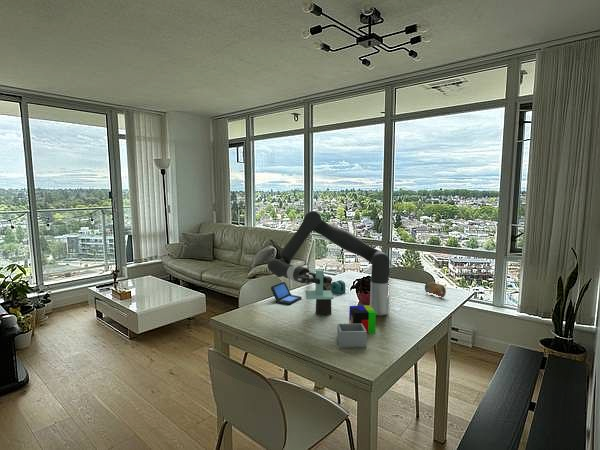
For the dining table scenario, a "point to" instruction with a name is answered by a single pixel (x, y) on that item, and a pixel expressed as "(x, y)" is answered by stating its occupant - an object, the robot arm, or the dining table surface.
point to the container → (324, 300)
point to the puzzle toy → (363, 317)
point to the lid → (319, 289)
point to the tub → (351, 335)
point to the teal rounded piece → (338, 287)
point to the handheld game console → (284, 294)
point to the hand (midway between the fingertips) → (323, 280)
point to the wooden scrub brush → (435, 288)
